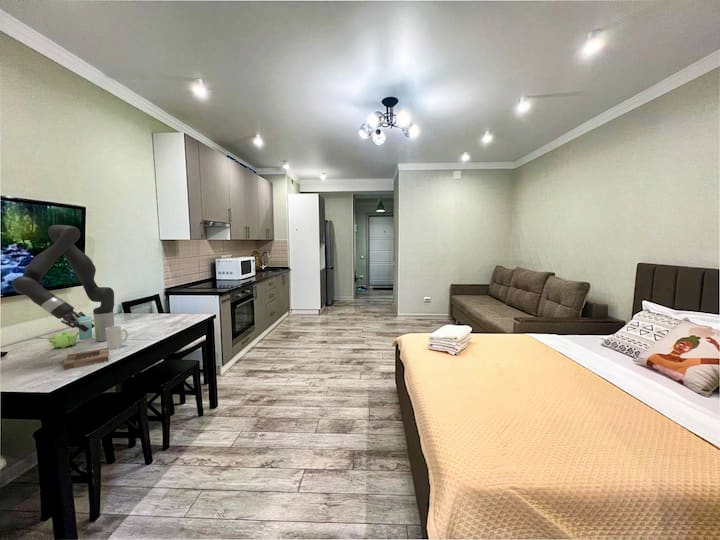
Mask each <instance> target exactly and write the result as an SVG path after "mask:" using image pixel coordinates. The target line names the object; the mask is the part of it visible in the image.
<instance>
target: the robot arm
mask: <svg viewBox="0 0 720 540" xmlns="http://www.w3.org/2000/svg"><path fill="white" fill-rule="evenodd" d="M47 235H48V237H49V239H50V240H51V241H52V242H53V243H54V244H52V245H51V246H50V247H48V248H46V249H44V250H43V251H42V252H40V253H39V254H37V255H36V256H35V257H34V258H33V259H31V261H30V262H29V264H28V265H27V266H26V267H25V268H24V272H23V275H22V276H18V277H16V278H14V279H13V280H12V282H11V286H12V288H13V290H14V292H15V293H18V294H20V295H25V296H26V297H27V298H29V299H30V300H31V301H32V302H33V303H34V304H36V305H37V306H39V307H40V308H42V309H43V310H44V312H45V311H46V312H47V313H49V314H50V315H51V316H53V317H54V318H56V319H58V320H60V323H61V324H63V325H66V326H67V327H70V328H72V329H74V328H76V329H78V330H79V329H81V330H82V331H84V332H86V331H87V330H88V329H89V328H88V327H86V326H85V325H83V324H82V325H81V323H80V322H79V319H78V318H79V317H84V316H87V315H86V314H84V312H83V311H80V312H76V311H74V310H75V307H74V306H72V305H71V304H70V303H68V302H66V301H65V300H63V299H62V298H60V297H59V296H57V295H55V294H54V293H52V292H51V291H49V290H48V289H46V288H44V287H43V286H42V285H41V284H40V283H41V281H42V280H43V279H44V278H43V277H44V276H45V275H46V274H47V273H48V271H50V269H51V267H52V266H53V265H54V264H55V262H56V261H57V260H58V259H59V258H60V257H61V256H62V255H63V257H64V258H65V259H66V261H67V262H68V264H69V266H70V268H71V269H72V271H73V272H74V274H75V275H76V277H77V278H78V280H79V281H80V283H81V285H82V287H83V289H84V291H85V293H86V294H85V295H86V296H87V298H88V299H89V300H90V301H91V302H94V303H100V306H98V307H95V308H93V310H92V311H93V312H92V313H93V323H92V322H91V324H92V329H93V328H94V337H95V338H94V339H95V340H94V341H95V342H105V341H106V342H107V339H106V328H108V327H112V326H115V317H114V307H115V292H114V290H113V288H111V287H108V286H107V287H106V286H102V287H101V286H98V285H97V283H96V281H95V276H96V272H97V269H96V266H95V265H94V263H93V260H92V259H91V258H90V257H89V256H88V255H87V254H86V253H84V252H83V251H81V250H80V249H79V248H78V247H77V246H76V244H75V243H76V242H77V241H79V239H80V238H81V231H80V229H79V228H77V227H76V226H74V225H66V224H53V225H50V226H49V227H48V230H47Z"/></svg>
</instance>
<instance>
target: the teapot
mask: <svg viewBox="0 0 720 540" xmlns="http://www.w3.org/2000/svg"><path fill="white" fill-rule="evenodd" d="M78 336H79V331H76V332H75V334H73V333H71V332H67V331H64V332H61V333H59V334H54V335H52V337H53V338H54V339H52V338H49V339H48V340H47V342H49V343H50V344H52V346H53V347H55V348H56V347H59V348H61V349H66V348H65V347H68V346H70V345H73V344H75V343H76V342H77V337H78ZM73 346H74V345H73Z"/></svg>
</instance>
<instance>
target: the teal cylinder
mask: <svg viewBox="0 0 720 540" xmlns="http://www.w3.org/2000/svg"><path fill="white" fill-rule="evenodd" d="M78 319H79V322H80V323H81V325H82V324H83V325H85V326H86V327H88V328H89V329H88V330H87V331H86V332H84V331H82V330H81V329H79V328H78V332H79V335H78V336H79V337H78V338H79V340H80V341H81V340H83V341H84V340H88V339H91V338H93V328H92V324H93V323H92V316H91V315H86V316H84V317H79V318H78ZM91 323H92V324H91Z"/></svg>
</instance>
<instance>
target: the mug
mask: <svg viewBox="0 0 720 540" xmlns="http://www.w3.org/2000/svg"><path fill="white" fill-rule="evenodd" d="M122 332H124V333H125V337H124V339H122ZM128 338H129V331H128V330H127V329H126V328H122V326H121V325H114V326H112V327H108V328H106V339H107V341H106V348H109V350H115V349H114V348H117V349H119V348H118V347H120V348H121V347H122V346H123V345H122V343H125V342H127V340H128Z"/></svg>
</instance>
